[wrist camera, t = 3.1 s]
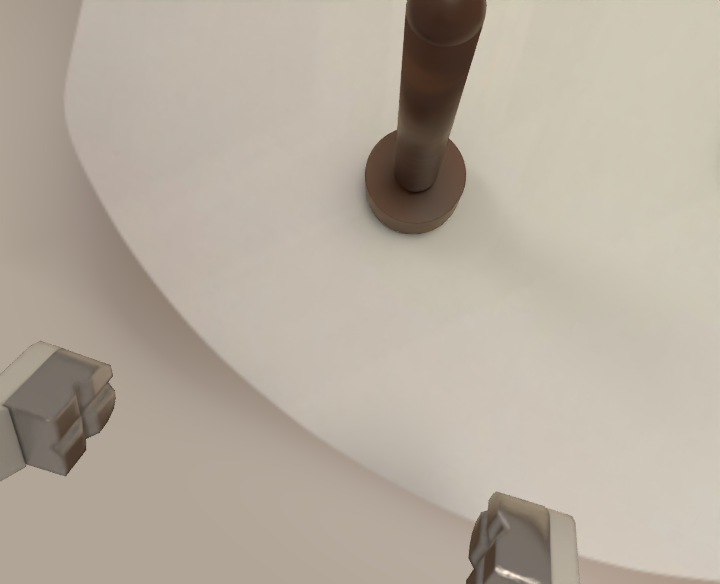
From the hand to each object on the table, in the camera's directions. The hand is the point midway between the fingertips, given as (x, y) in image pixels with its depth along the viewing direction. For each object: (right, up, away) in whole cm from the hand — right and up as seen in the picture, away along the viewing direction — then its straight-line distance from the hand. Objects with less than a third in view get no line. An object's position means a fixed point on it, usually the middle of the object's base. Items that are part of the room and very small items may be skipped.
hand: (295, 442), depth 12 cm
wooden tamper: (+4, +9, +20) cm, 22 cm away
